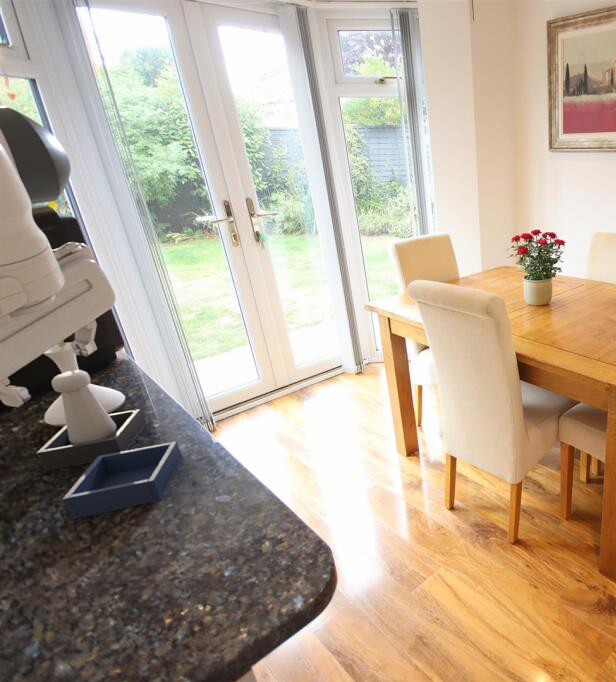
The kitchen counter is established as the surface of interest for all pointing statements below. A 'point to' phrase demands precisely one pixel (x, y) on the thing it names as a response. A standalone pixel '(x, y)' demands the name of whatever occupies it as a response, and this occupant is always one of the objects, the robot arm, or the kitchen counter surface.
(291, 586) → the kitchen counter surface
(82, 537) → the kitchen counter surface
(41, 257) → the robot arm
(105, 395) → the flower in vase
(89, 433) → the salt shaker
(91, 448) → the tub
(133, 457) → the tub
